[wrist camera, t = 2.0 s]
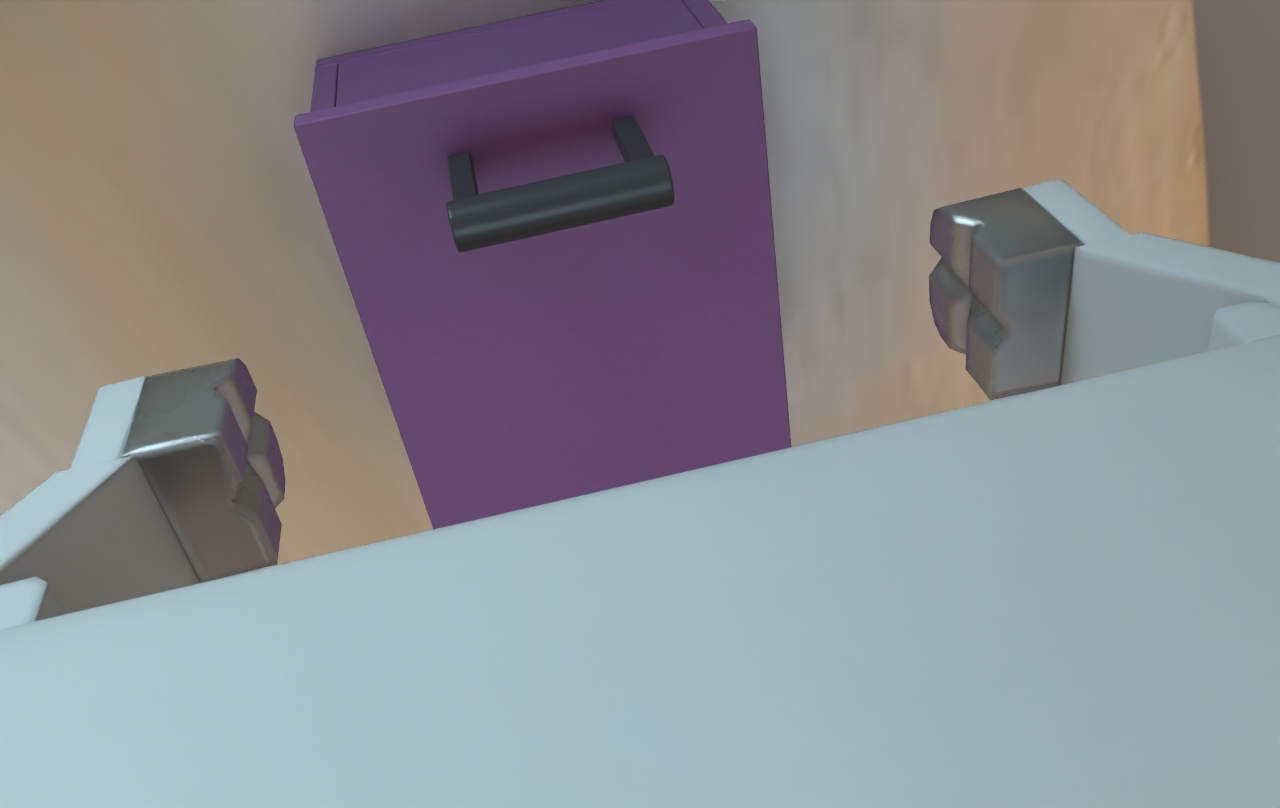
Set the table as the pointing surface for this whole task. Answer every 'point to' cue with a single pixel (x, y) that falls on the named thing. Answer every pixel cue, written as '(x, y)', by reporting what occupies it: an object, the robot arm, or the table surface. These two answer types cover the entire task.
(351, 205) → the folder lid
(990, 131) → the table surface
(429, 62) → the drawer box
